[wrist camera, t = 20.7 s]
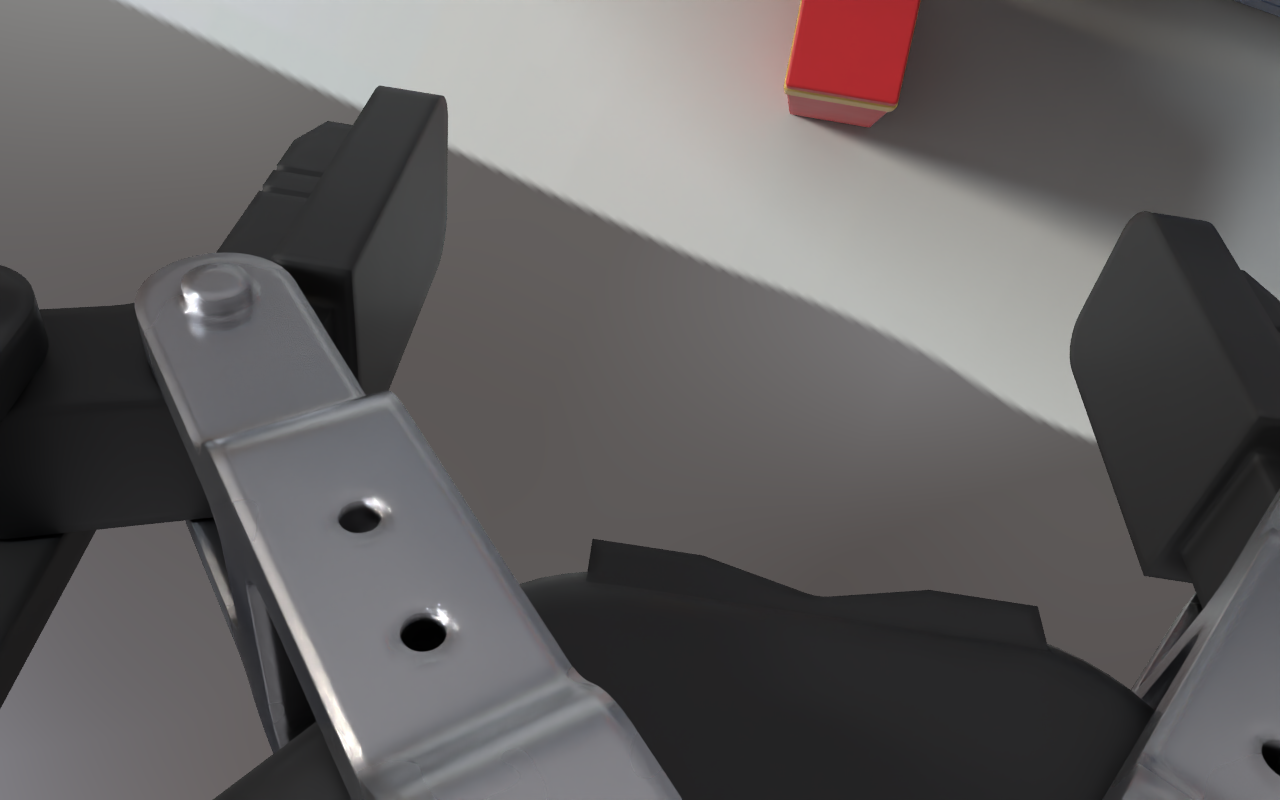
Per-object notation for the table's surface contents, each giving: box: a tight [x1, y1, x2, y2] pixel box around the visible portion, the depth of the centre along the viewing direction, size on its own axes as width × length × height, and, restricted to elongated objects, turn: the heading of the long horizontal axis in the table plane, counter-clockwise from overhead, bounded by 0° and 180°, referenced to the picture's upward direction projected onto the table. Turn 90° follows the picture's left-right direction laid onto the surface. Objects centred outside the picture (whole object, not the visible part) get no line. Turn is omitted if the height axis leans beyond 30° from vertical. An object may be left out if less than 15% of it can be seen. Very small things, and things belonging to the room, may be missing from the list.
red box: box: [784, 0, 921, 127], centre depth 28 cm, size 3×5×10 cm, turn 170°
